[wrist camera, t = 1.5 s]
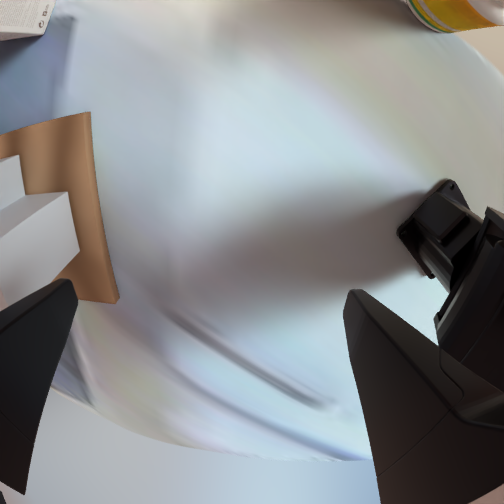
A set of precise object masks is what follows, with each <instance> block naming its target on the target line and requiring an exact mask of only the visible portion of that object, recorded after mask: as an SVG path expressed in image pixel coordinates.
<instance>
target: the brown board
mask: <svg viewBox="0 0 504 504" xmlns="http://www.w3.org/2000/svg"><path fill="white" fill-rule="evenodd" d="M15 155H19V160H20V167H21V173H22V180H23V185H24V191H25V195H33V194H44V193H55V192H68V197H69V202H70V208H71V213H72V218H73V223H74V227H75V232H76V236H77V241H78V245H79V249H80V251H79V253H78V254H77V255H76V256H75V257H74V258H73V259H72V260H71V261H70V262H69V263H68V264H67V265H66V266H65V267H64V268H63V270H62V271H61V272H60V273H59V274H58V275H57V276H56V277H55V278H54V280H53V281H55V280H57V279H59V278H68V279H70V280H71V281H72V283H73V286H74V289H75V292H76V294H77V297H78V299H80V300H87V301H94V302H102V303H110V304H116V303H117V301H118V299H119V298H120V297H119V293H118V289H117V285H116V282H115V278H114V274H113V269H112V265H111V261H110V256H109V252H108V247H107V242H106V237H105V232H104V227H103V221H102V216H101V210H100V203H99V197H98V190H97V182H96V174H95V166H94V156H93V144H92V131H91V112H85V113H80V114H75V115H70V116H66V117H61V118H57V119H53V120H49V121H45V122H41V123H38V124H34V125H31V126H27V127H24V128H21V129H17V130H14V131H11V132H8V133H5V134H2V135H0V159H3V158H7V157H11V156H15ZM53 281H52V282H53Z"/></svg>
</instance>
